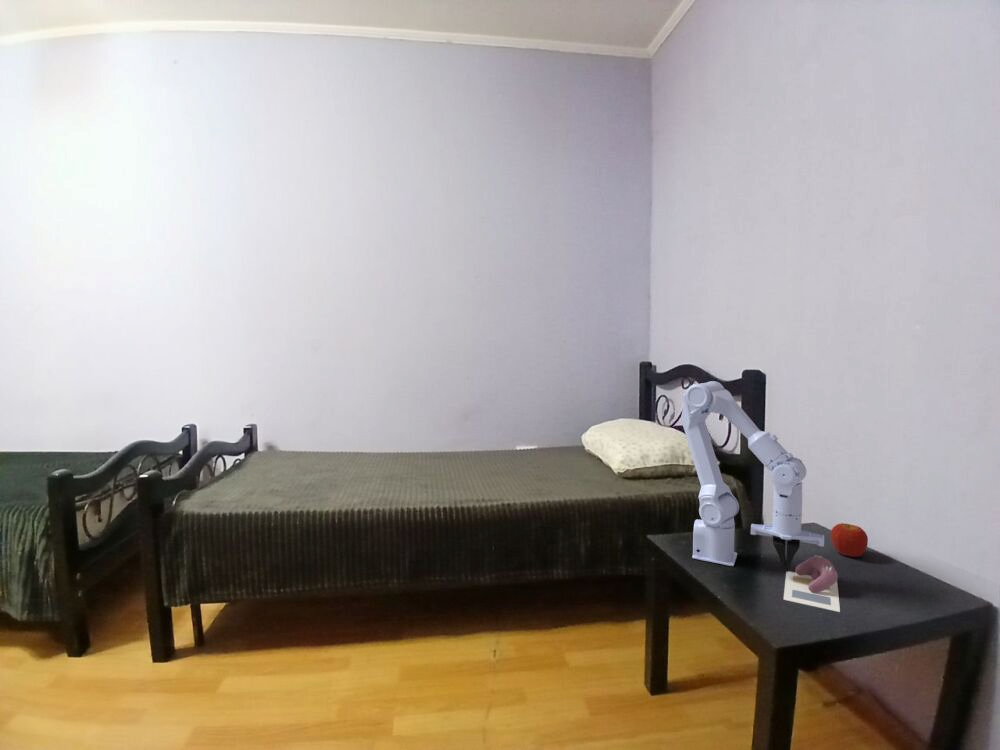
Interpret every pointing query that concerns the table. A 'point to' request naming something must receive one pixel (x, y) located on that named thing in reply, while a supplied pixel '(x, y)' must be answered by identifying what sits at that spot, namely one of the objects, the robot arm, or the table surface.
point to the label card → (801, 594)
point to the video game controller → (818, 572)
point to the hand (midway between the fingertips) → (785, 569)
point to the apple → (849, 539)
